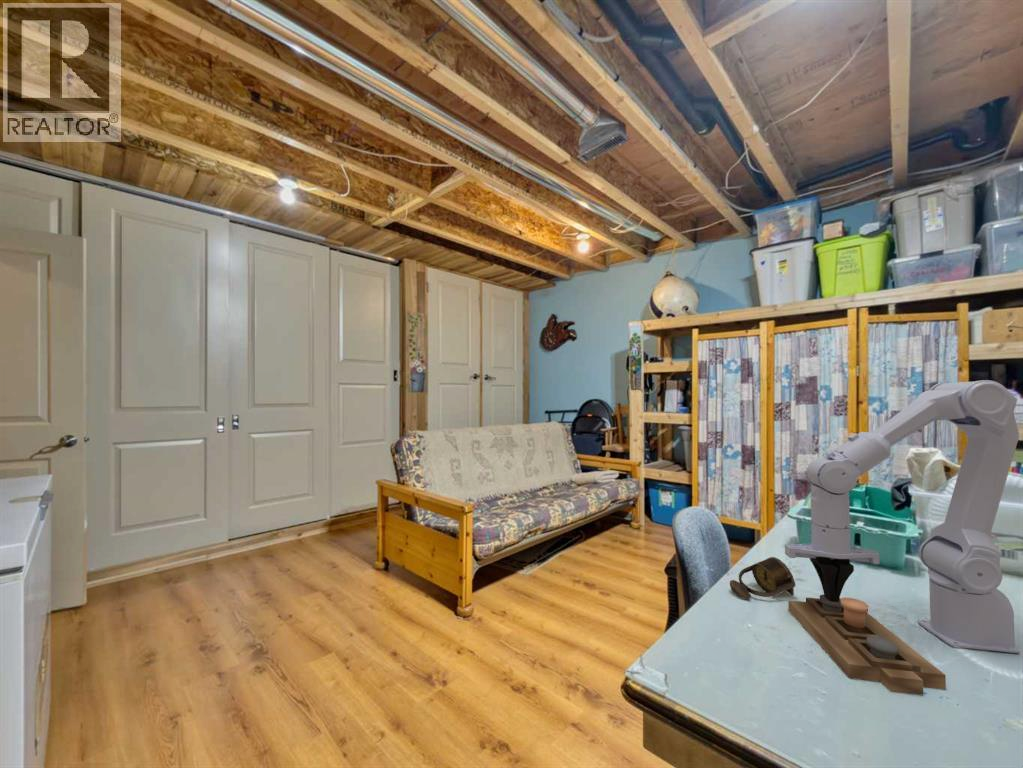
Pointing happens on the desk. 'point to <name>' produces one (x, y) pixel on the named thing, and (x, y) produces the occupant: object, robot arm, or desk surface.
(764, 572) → the brown watering can
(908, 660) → the walnut test board
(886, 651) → the grey plug near
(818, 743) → the desk surface
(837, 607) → the grey plug far
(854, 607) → the terracotta plug
